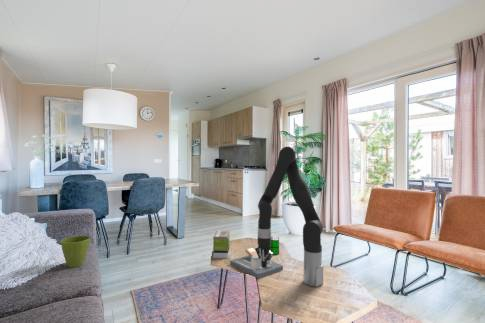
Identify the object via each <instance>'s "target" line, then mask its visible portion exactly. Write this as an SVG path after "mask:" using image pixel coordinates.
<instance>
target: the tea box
mask: <svg viewBox="0 0 485 323" xmlns="http://www.w3.org/2000/svg"><path fill="white" fill-rule="evenodd" d="M212 239H213V241H212V244H213V248H212V249H213V252H212V253H213V259H228V258H229V254H230V251H231V248H230V246H231V245H230V243H231V242H230V231H229V230H216V232H215V233H214V235H213V238H212Z"/></svg>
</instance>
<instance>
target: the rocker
mask: <svg viewBox="0 0 485 323" xmlns="http://www.w3.org/2000/svg"><path fill="white" fill-rule="evenodd" d="M245 253H246V254H247V255H250V256H251V257H252V256H258V255H257V252H256V250H255V248H254V247H250V248H246V249H245Z"/></svg>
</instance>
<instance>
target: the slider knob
mask: <svg viewBox="0 0 485 323" xmlns="http://www.w3.org/2000/svg"><path fill="white" fill-rule="evenodd" d="M251 268H252V269H254V270H256V269H259V268H260V258H259V257H258V256H252V257H251Z"/></svg>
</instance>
